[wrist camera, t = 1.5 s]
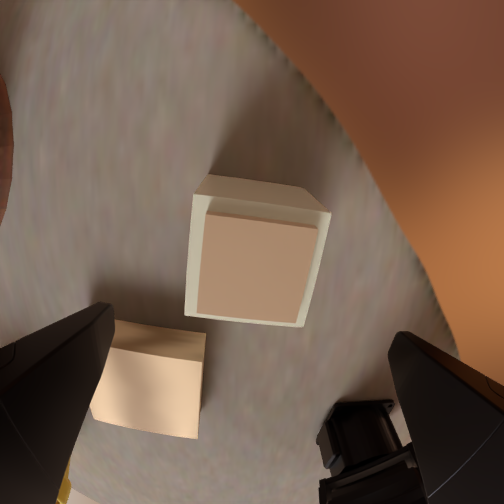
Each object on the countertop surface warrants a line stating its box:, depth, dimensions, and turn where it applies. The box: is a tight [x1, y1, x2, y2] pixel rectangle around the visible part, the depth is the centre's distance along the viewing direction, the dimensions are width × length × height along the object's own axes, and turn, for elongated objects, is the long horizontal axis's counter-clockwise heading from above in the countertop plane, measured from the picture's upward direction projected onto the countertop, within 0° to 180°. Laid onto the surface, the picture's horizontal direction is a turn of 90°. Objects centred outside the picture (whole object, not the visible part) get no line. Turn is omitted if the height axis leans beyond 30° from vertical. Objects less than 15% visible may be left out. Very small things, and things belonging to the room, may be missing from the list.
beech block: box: [90, 320, 206, 439], centre depth 21 cm, size 9×9×4 cm
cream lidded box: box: [184, 174, 332, 327], centre depth 16 cm, size 6×6×7 cm
